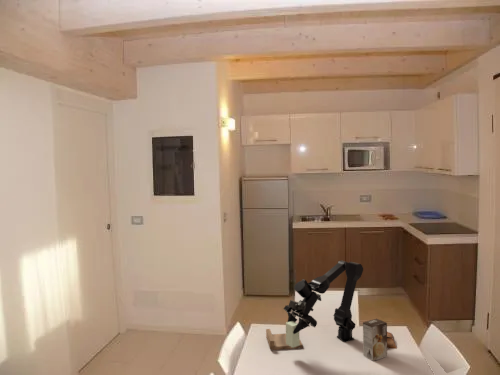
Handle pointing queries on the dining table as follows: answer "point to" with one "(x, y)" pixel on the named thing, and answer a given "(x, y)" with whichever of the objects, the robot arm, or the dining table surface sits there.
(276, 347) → the edge board
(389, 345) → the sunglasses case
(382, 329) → the coffee box
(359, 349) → the dining table surface
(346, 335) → the robot arm
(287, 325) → the pale green block
